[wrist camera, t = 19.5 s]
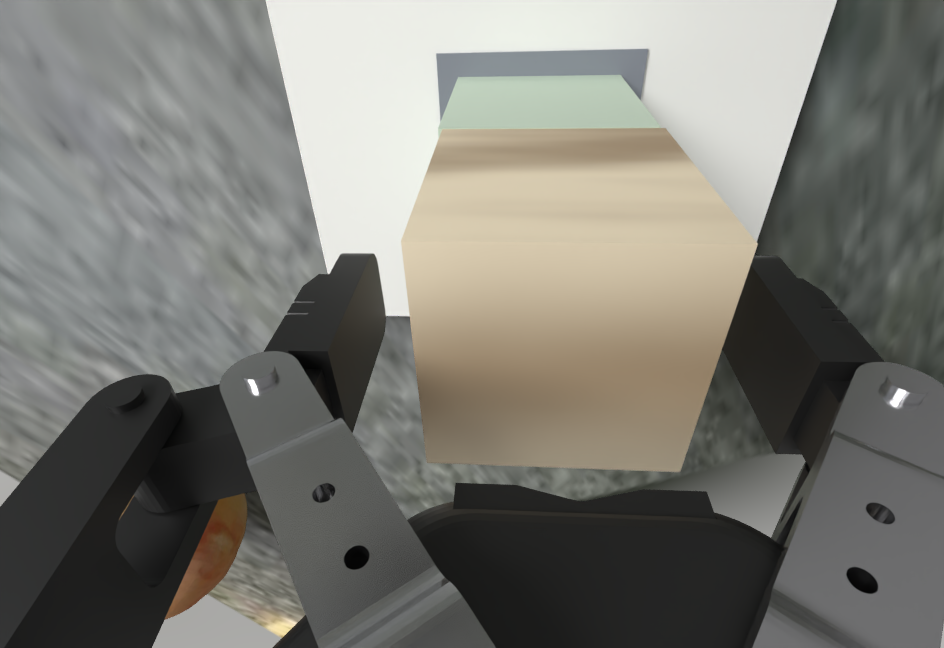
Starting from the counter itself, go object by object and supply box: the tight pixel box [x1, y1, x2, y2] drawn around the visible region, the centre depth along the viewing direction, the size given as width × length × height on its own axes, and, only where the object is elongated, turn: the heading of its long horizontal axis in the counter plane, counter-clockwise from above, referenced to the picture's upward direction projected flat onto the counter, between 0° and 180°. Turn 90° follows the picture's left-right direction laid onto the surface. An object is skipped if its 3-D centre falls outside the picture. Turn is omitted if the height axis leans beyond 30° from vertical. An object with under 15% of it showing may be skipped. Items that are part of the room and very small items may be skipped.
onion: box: [120, 494, 247, 620], centre depth 30 cm, size 10×10×10 cm
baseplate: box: [266, 0, 837, 316], centre depth 20 cm, size 15×18×1 cm
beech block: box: [401, 128, 758, 472], centre depth 12 cm, size 6×6×6 cm
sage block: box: [438, 75, 661, 137], centre depth 17 cm, size 6×6×6 cm
